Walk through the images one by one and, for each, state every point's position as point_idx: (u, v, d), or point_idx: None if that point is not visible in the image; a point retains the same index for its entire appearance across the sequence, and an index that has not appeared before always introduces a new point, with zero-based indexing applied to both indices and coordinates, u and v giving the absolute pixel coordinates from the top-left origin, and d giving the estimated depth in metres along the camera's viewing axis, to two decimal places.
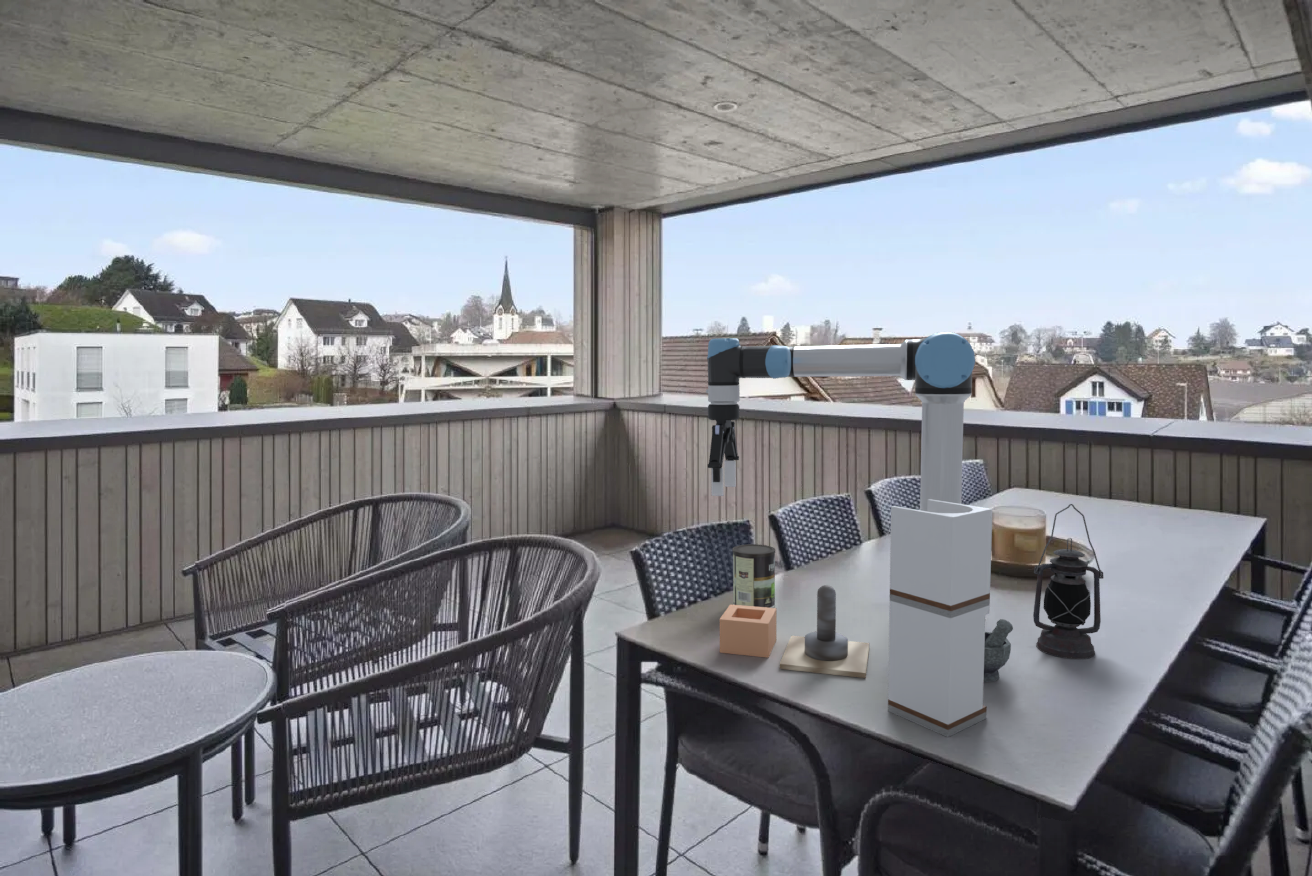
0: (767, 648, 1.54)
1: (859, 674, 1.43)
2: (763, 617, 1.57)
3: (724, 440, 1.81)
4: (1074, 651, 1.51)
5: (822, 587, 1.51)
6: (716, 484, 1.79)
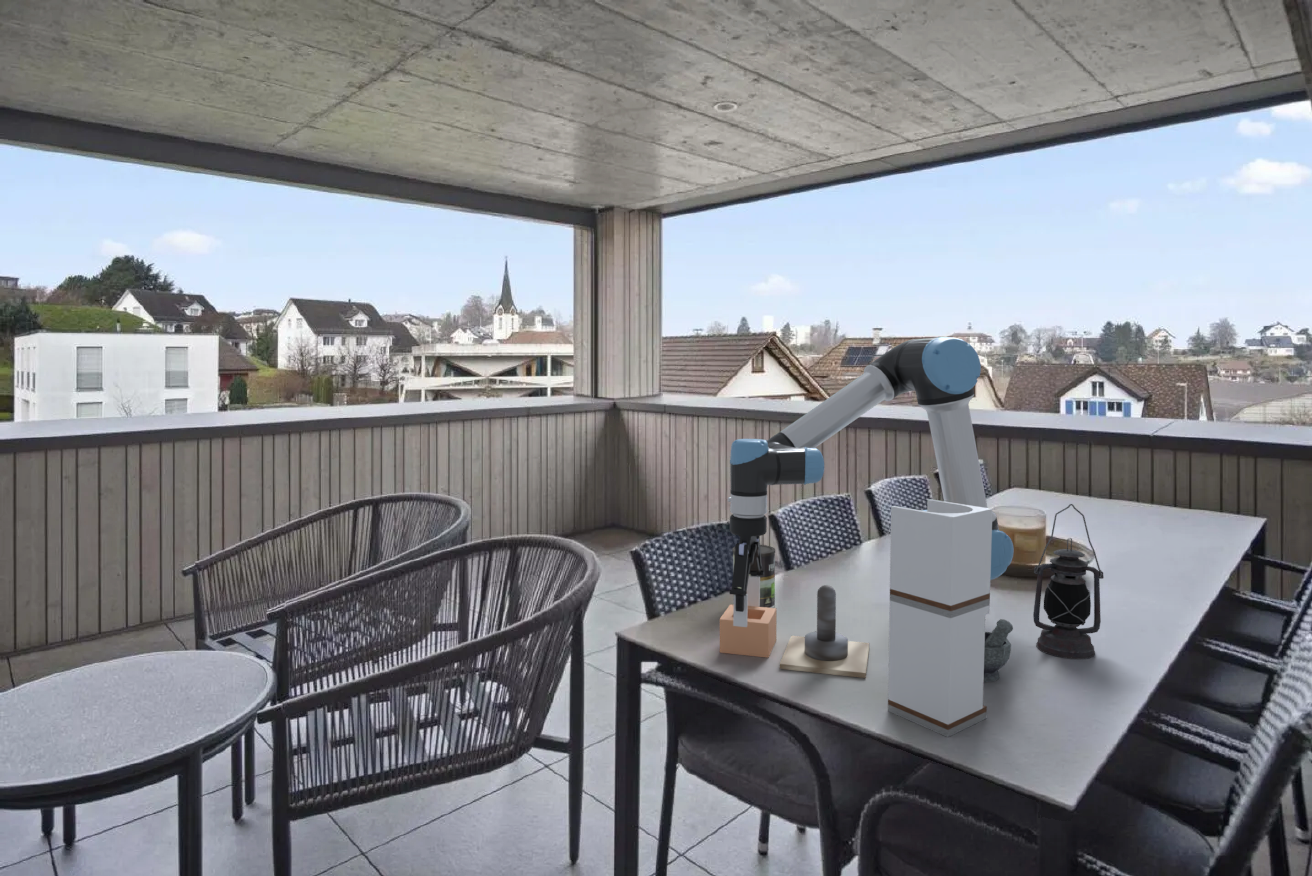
0: (767, 648, 1.54)
1: (859, 674, 1.43)
2: (763, 617, 1.57)
3: (749, 560, 1.54)
4: (1074, 651, 1.51)
5: (822, 587, 1.51)
6: (739, 613, 1.52)
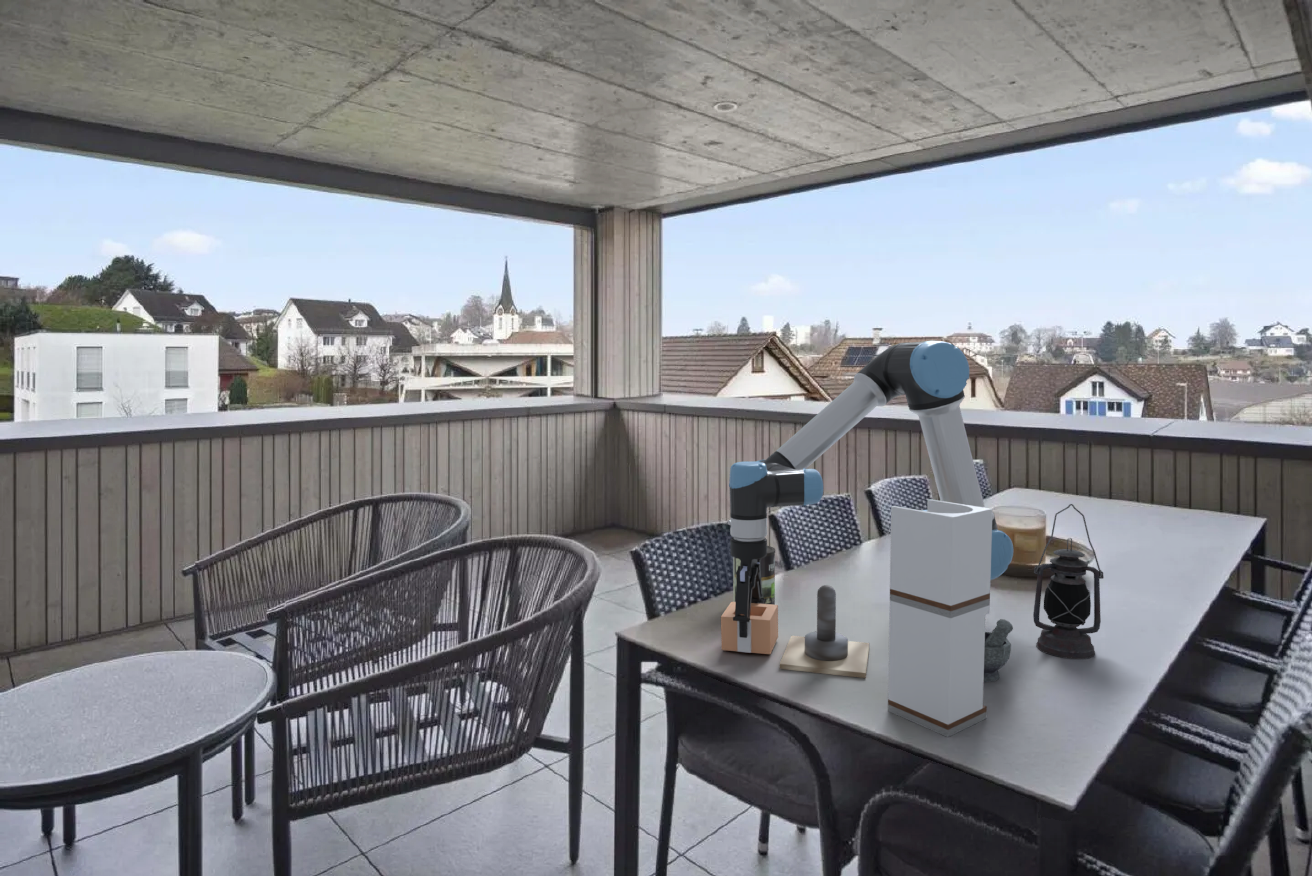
0: (769, 645, 1.53)
1: (859, 674, 1.43)
2: (764, 614, 1.57)
3: (750, 584, 1.55)
4: (1074, 651, 1.51)
5: (822, 587, 1.51)
6: (743, 639, 1.54)
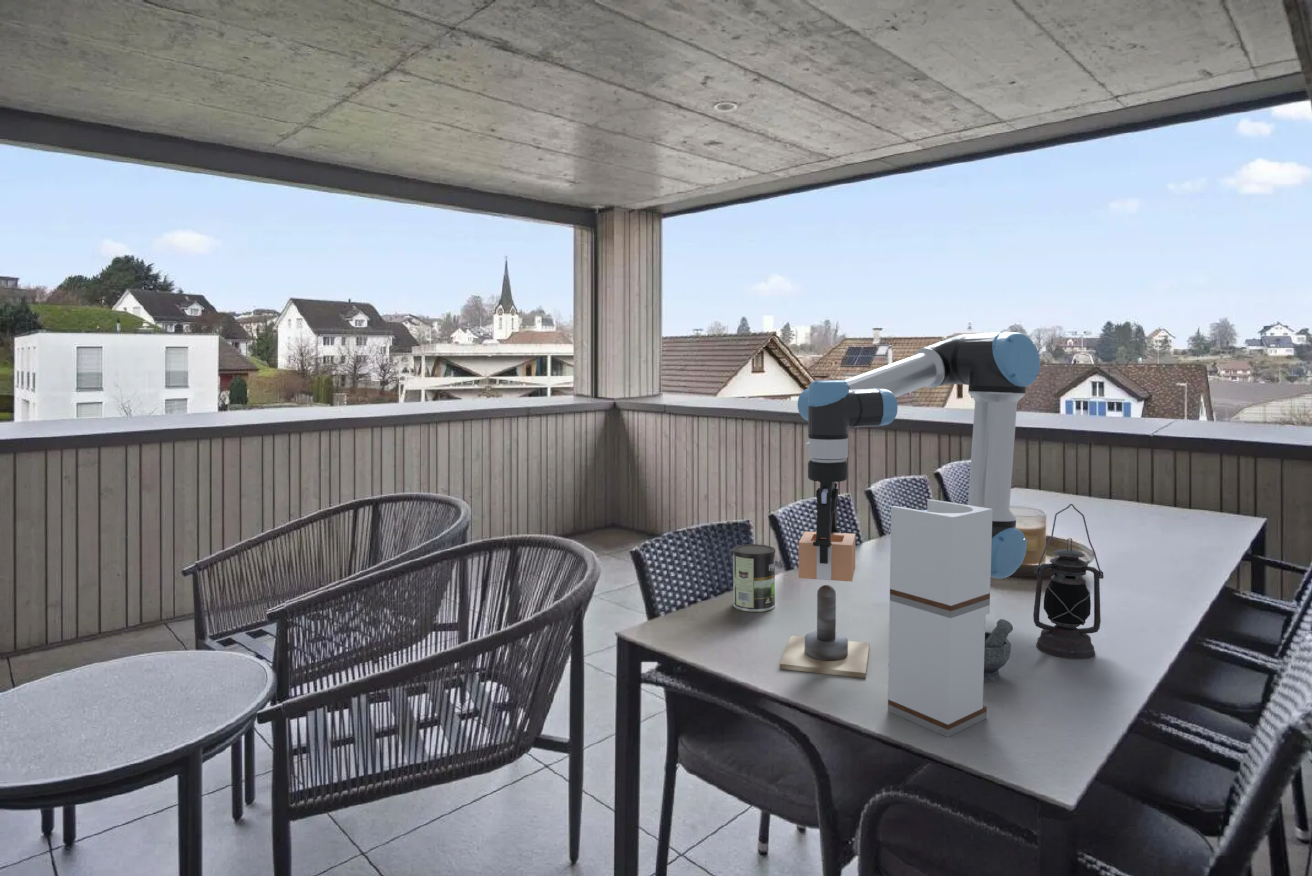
0: (850, 571, 1.45)
1: (859, 674, 1.43)
2: (844, 540, 1.48)
3: (831, 508, 1.47)
4: (1074, 651, 1.51)
5: (822, 587, 1.51)
6: (823, 565, 1.46)
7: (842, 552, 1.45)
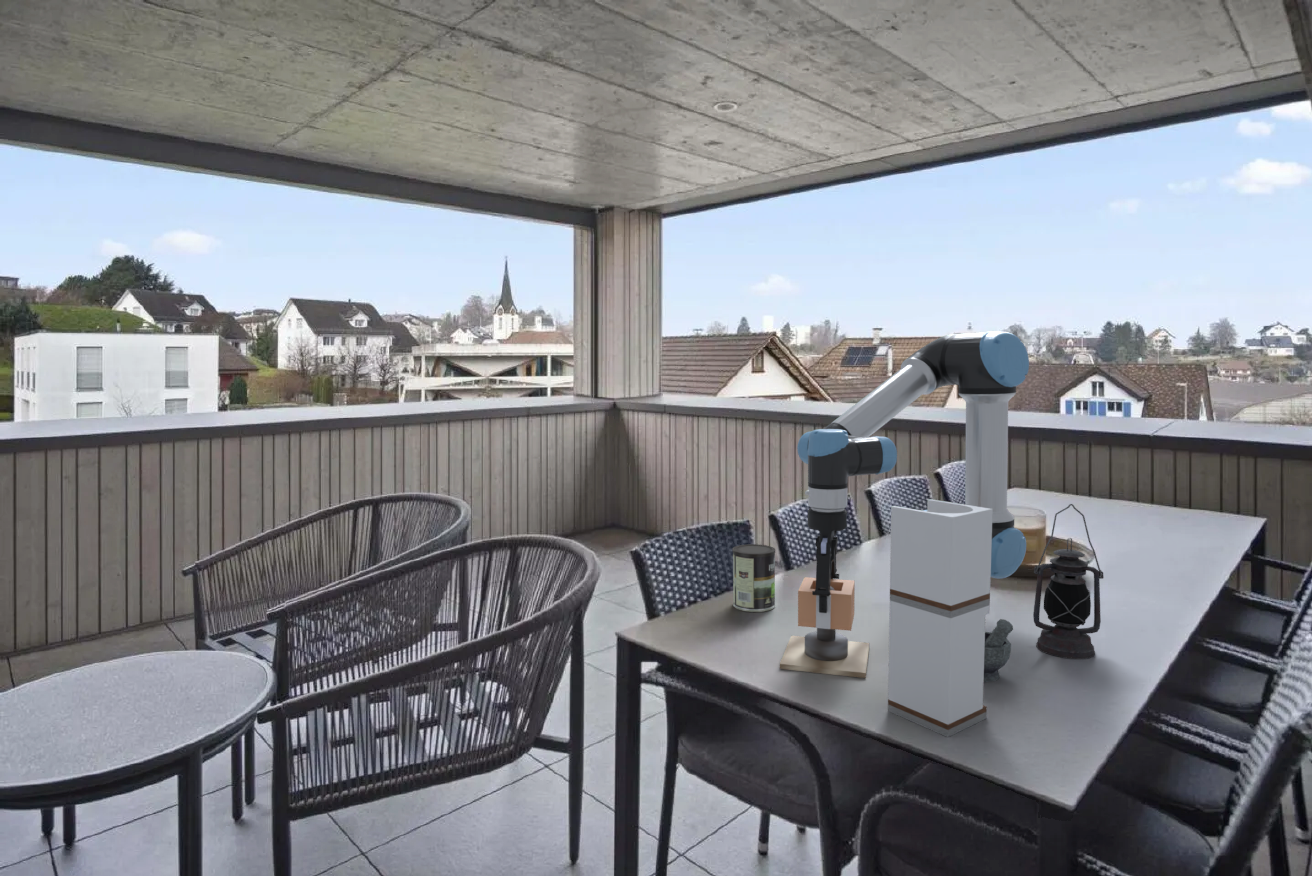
0: (850, 621, 1.46)
1: (859, 674, 1.43)
2: (843, 589, 1.49)
3: (830, 557, 1.47)
4: (1074, 651, 1.51)
5: None
6: (822, 614, 1.47)
7: (841, 601, 1.46)
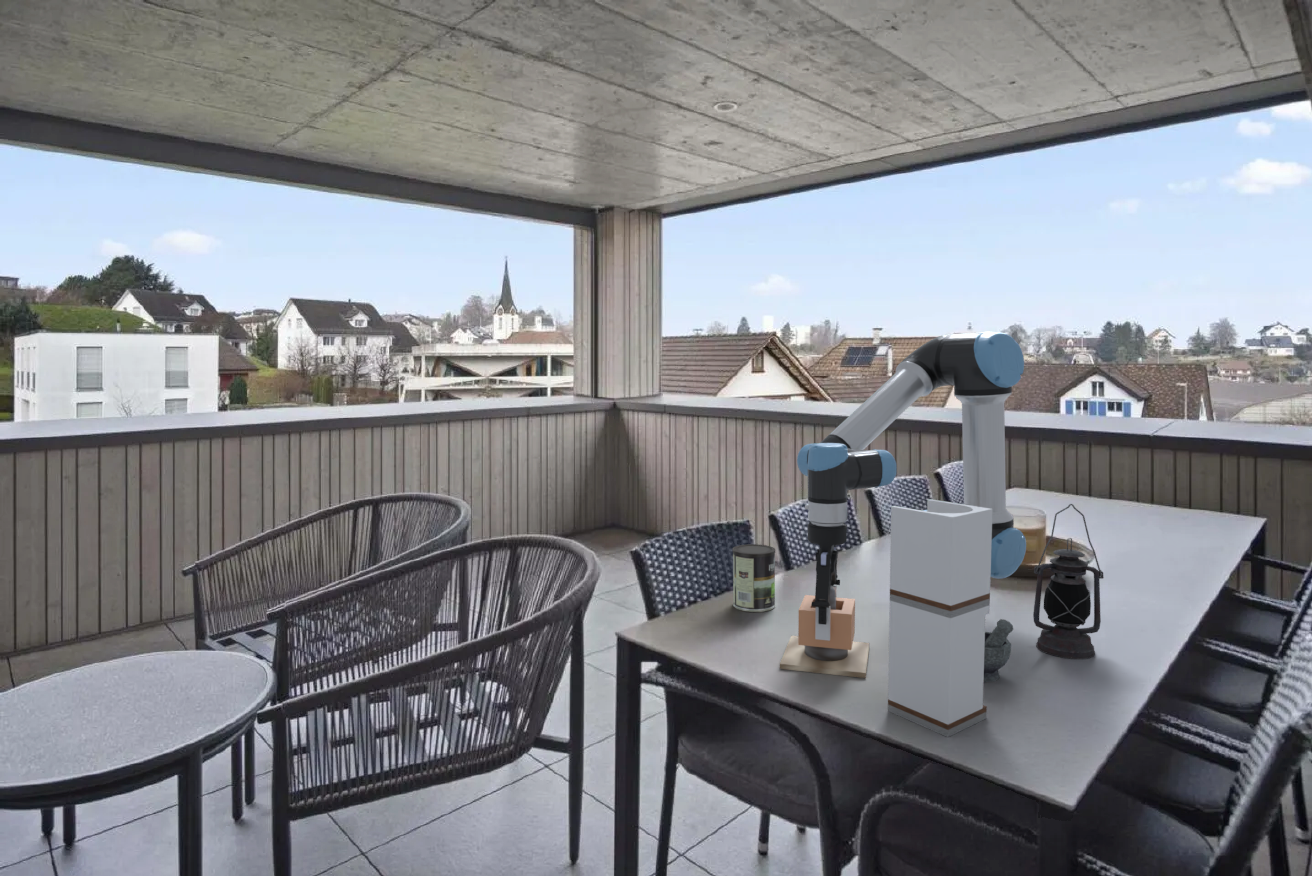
0: (850, 640, 1.46)
1: (859, 674, 1.43)
2: (844, 608, 1.49)
3: (830, 570, 1.47)
4: (1074, 651, 1.51)
5: None
6: (821, 626, 1.45)
7: (841, 621, 1.46)
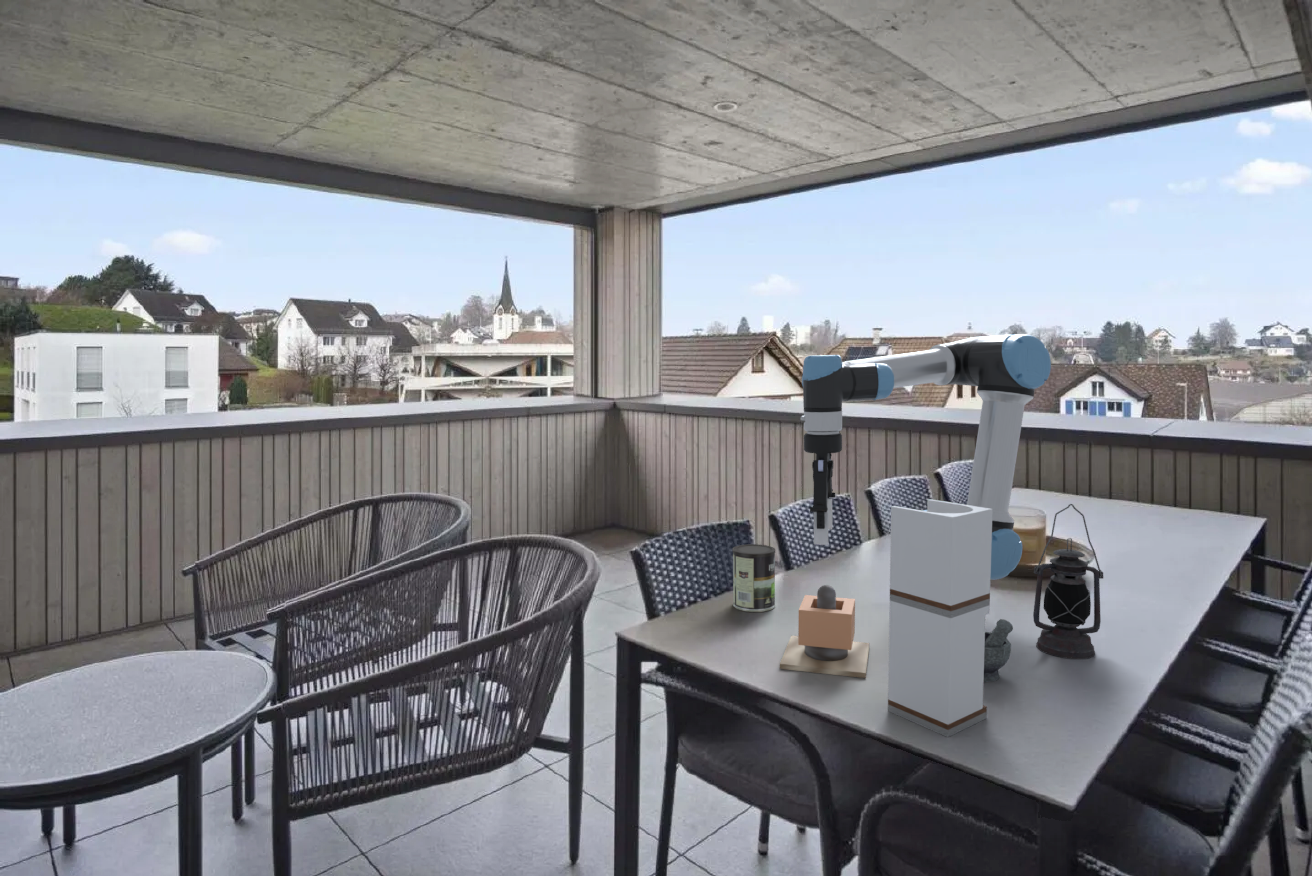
0: (850, 640, 1.46)
1: (859, 674, 1.43)
2: (844, 608, 1.49)
3: (827, 477, 1.51)
4: (1074, 651, 1.51)
5: (822, 587, 1.51)
6: (820, 531, 1.49)
7: (841, 621, 1.46)
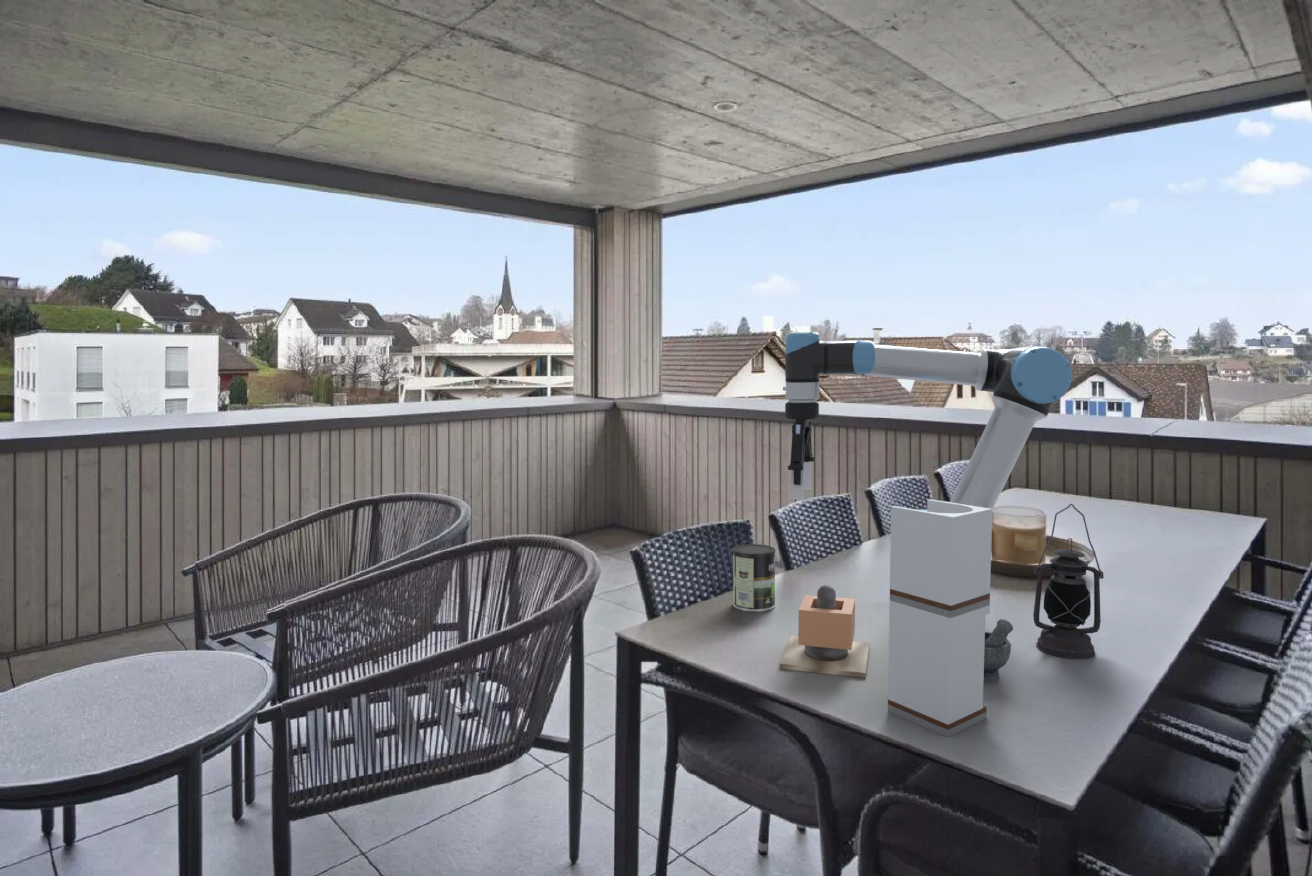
0: (850, 640, 1.46)
1: (859, 674, 1.43)
2: (844, 608, 1.49)
3: (804, 440, 1.70)
4: (1074, 651, 1.51)
5: (822, 587, 1.51)
6: (796, 487, 1.68)
7: (841, 621, 1.46)
